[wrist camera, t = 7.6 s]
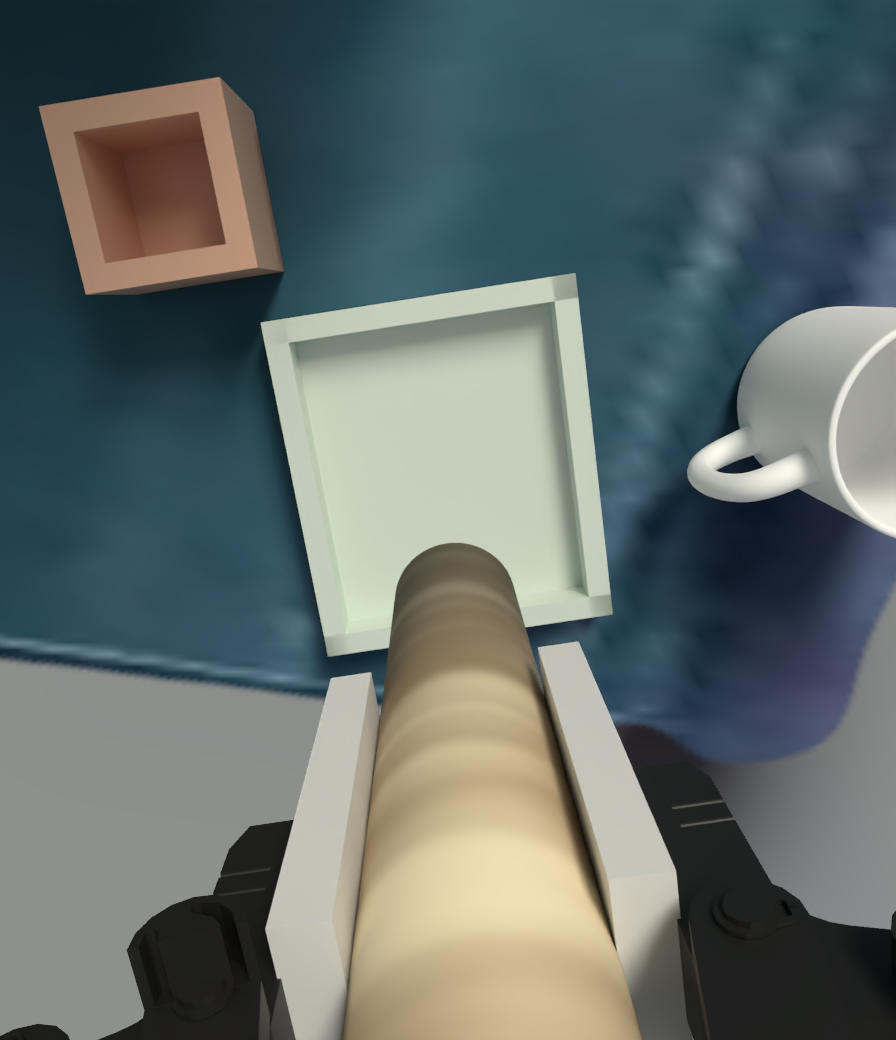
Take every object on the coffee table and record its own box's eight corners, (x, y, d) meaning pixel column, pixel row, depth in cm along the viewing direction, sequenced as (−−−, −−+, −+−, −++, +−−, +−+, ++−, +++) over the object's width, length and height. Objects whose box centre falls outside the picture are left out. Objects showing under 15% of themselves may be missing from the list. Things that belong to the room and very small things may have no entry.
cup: (928, 444, 41) (1085, 491, 31) (688, 539, 42) (768, 614, 32) (882, 276, 39) (1035, 270, 29) (632, 380, 40) (697, 408, 30)
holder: (100, 136, 37) (38, 106, 31) (253, 111, 36) (219, 76, 31) (138, 294, 38) (85, 294, 32) (284, 271, 38) (257, 267, 32)
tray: (271, 320, 39) (260, 322, 36) (566, 274, 38) (575, 273, 36) (333, 636, 43) (328, 656, 40) (602, 596, 42) (612, 614, 40)
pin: (385, 552, 23) (286, 1114, 7) (506, 534, 22) (674, 1060, 7) (405, 664, 23) (354, 1389, 8) (522, 646, 23) (704, 1343, 8)
